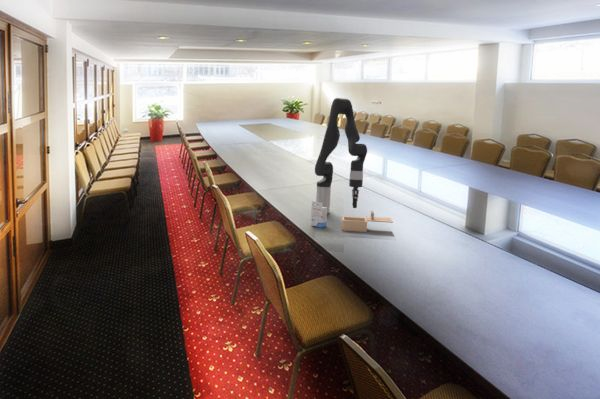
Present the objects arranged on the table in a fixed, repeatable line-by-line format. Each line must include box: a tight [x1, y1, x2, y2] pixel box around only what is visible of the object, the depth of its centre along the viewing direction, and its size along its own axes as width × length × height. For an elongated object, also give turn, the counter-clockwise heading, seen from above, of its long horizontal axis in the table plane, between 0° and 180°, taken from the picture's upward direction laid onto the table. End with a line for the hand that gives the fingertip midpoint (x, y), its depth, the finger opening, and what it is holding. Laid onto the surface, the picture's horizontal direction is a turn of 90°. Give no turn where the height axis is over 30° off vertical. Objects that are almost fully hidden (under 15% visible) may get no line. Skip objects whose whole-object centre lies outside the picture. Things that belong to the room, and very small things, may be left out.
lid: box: [365, 210, 394, 224], centre depth 234 cm, size 11×14×4 cm
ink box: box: [310, 200, 328, 228], centre depth 240 cm, size 8×5×15 cm, turn 50°
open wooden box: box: [341, 216, 368, 233], centre depth 236 cm, size 11×14×6 cm
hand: (354, 206), depth 234 cm, fingers open, 6 cm apart
